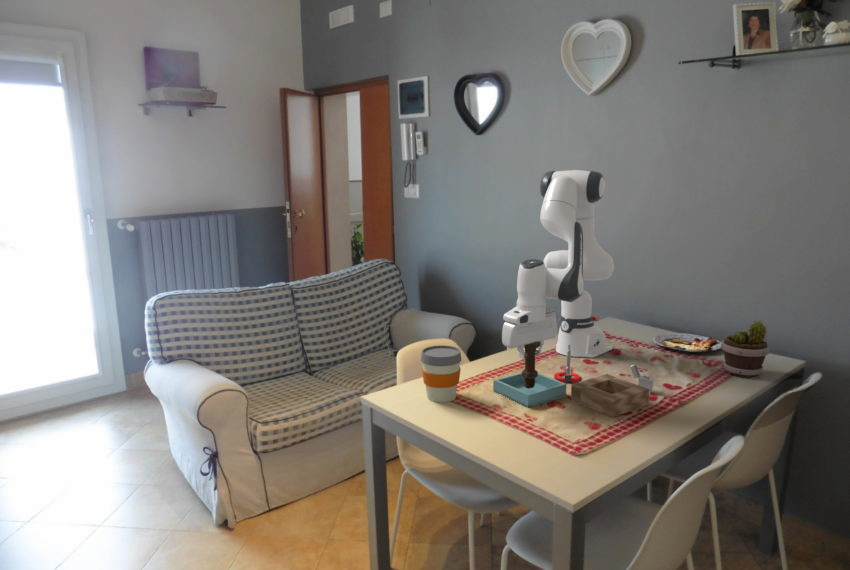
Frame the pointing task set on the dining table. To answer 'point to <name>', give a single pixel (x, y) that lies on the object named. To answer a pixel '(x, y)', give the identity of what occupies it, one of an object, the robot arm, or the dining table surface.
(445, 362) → the reusable coffee cup
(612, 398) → the socket block
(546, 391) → the tray
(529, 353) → the bolt
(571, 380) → the red valve handwheel
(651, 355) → the dining table surface
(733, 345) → the flowerpot
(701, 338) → the food plate
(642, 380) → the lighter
